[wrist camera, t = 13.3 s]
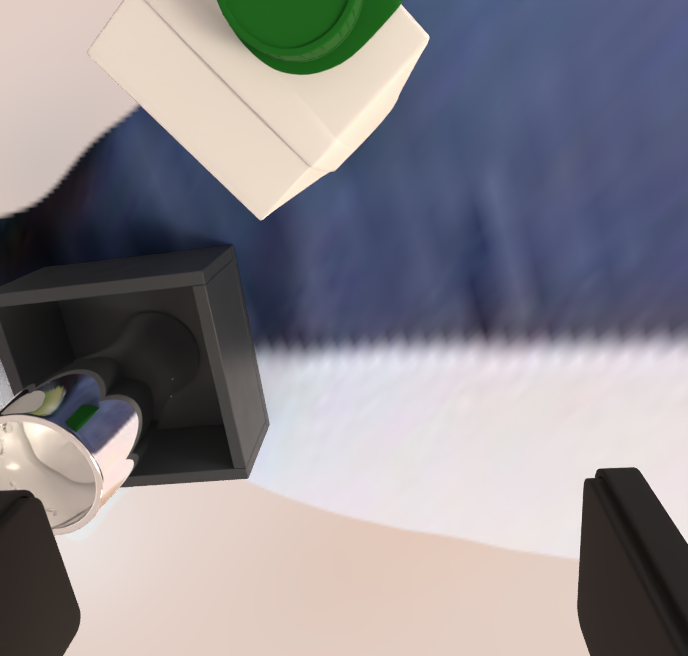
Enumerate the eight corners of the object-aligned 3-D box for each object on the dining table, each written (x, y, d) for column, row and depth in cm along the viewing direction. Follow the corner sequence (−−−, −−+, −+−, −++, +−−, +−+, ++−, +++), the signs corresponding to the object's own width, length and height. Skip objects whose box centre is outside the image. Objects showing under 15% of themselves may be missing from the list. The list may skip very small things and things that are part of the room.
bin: (43, 267, 40) (-23, 296, 34) (233, 244, 39) (202, 270, 32) (97, 438, 45) (48, 492, 38) (269, 424, 43) (248, 479, 37)
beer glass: (121, 400, 42) (-13, 542, 28) (96, 309, 40) (-63, 416, 26) (213, 393, 42) (122, 537, 28) (194, 301, 39) (83, 406, 25)
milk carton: (427, 74, 34) (467, 30, 15) (321, 186, 37) (245, 264, 18) (319, -45, 32) (216, -258, 14) (216, 81, 35) (13, 47, 16)
